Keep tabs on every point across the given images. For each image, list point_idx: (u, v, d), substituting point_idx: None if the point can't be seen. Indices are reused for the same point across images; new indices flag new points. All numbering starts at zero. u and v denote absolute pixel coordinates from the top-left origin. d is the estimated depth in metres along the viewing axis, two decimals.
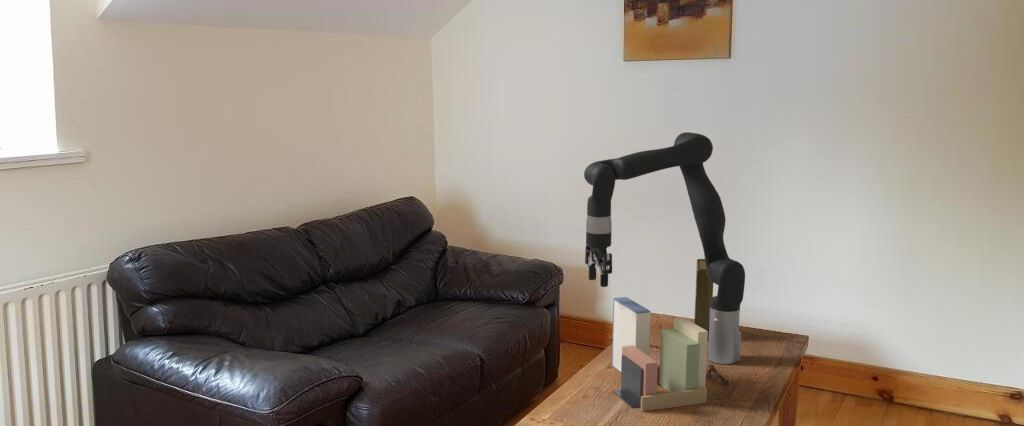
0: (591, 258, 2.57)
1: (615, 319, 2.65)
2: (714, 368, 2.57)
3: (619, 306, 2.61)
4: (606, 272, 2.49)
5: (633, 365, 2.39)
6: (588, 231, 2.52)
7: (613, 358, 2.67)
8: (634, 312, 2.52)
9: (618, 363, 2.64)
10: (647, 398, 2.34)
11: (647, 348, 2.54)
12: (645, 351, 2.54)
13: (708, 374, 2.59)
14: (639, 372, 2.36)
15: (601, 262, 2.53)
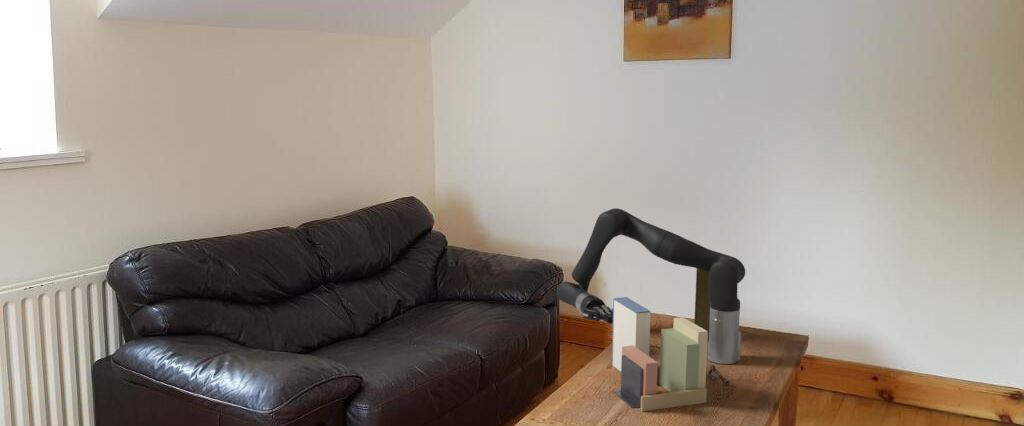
0: None
1: (615, 319, 2.65)
2: (714, 368, 2.57)
3: (619, 306, 2.61)
4: (596, 318, 2.76)
5: (633, 365, 2.39)
6: None
7: (613, 358, 2.67)
8: (634, 312, 2.52)
9: (618, 363, 2.64)
10: (647, 398, 2.34)
11: (647, 348, 2.54)
12: (645, 351, 2.54)
13: (709, 374, 2.59)
14: (639, 372, 2.36)
15: None
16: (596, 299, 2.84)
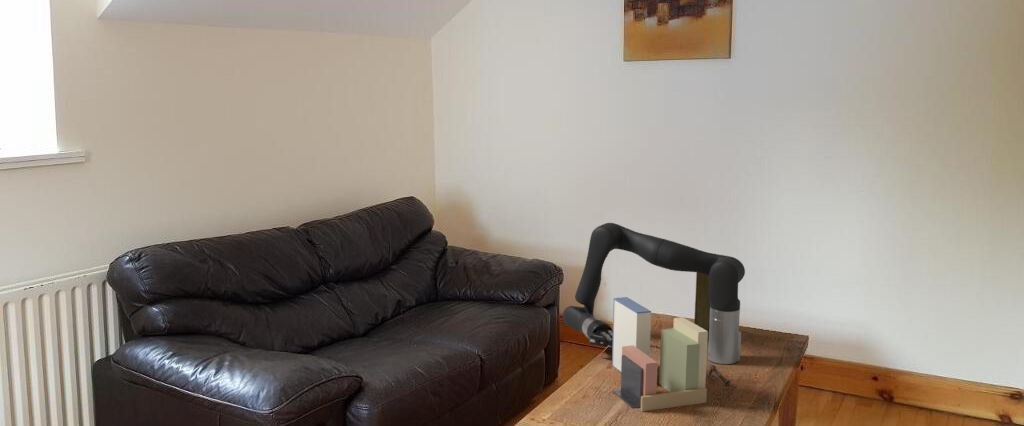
0: None
1: (615, 319, 2.65)
2: (715, 368, 2.57)
3: (620, 306, 2.61)
4: (603, 344, 2.73)
5: (633, 365, 2.39)
6: None
7: (614, 358, 2.67)
8: (635, 312, 2.52)
9: (618, 364, 2.64)
10: (647, 398, 2.34)
11: (648, 348, 2.54)
12: (646, 351, 2.54)
13: (709, 374, 2.59)
14: (639, 372, 2.36)
15: None
16: (603, 324, 2.80)
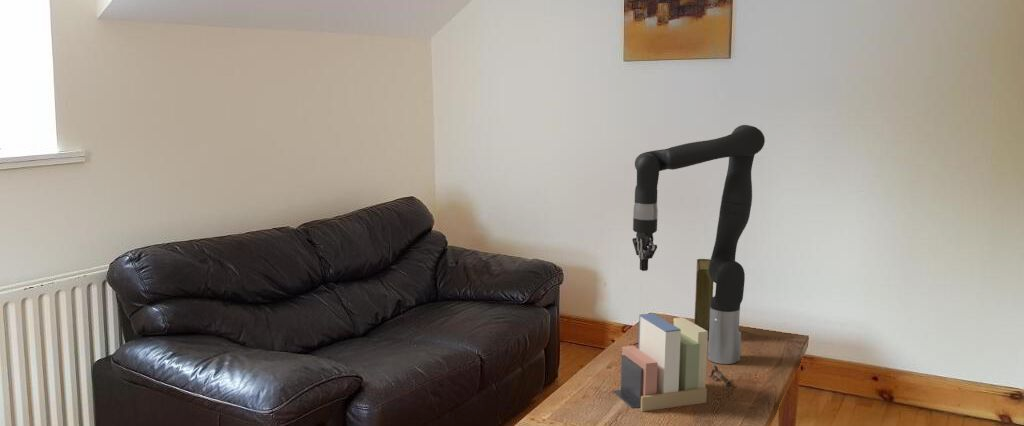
0: (639, 244, 2.70)
1: (641, 337, 2.48)
2: (717, 369, 2.57)
3: (646, 324, 2.44)
4: (647, 257, 2.68)
5: (633, 365, 2.39)
6: (635, 217, 2.67)
7: None
8: (663, 330, 2.35)
9: None
10: (647, 398, 2.34)
11: (677, 369, 2.37)
12: (675, 372, 2.37)
13: (711, 375, 2.58)
14: (639, 372, 2.36)
15: None
16: None
